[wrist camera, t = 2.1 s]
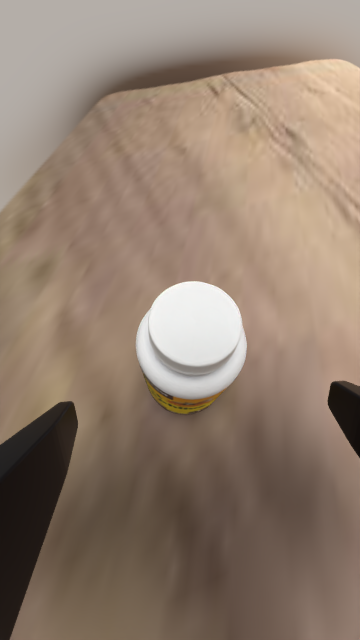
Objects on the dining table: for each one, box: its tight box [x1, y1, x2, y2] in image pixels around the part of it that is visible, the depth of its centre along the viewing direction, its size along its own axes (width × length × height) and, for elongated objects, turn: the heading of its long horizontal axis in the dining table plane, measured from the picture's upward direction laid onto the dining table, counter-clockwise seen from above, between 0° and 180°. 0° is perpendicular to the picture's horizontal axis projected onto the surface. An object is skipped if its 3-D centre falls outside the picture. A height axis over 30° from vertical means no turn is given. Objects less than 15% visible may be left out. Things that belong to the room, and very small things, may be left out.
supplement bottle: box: [136, 281, 247, 414], centre depth 15 cm, size 6×6×10 cm
